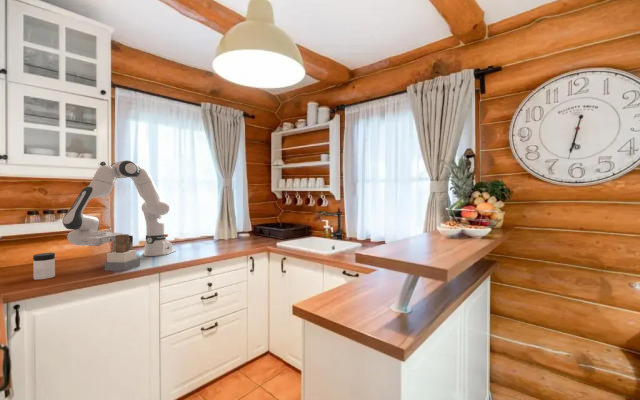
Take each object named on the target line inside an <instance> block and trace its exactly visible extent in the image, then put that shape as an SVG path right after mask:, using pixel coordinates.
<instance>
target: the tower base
mask: <svg viewBox="0 0 640 400" xmlns="http://www.w3.org/2000/svg"><path fill="white" fill-rule="evenodd" d="M137 267H141V257H140V258H139V257H136V259H133V260H130V261H127V262H107V261H105V262H104V271H109V270H110V271H111V272H112V271H114V272H126V271H128V270H132V269H134V268H137Z"/></svg>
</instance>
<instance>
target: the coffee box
mask: <svg viewBox="0 0 640 400" xmlns="http://www.w3.org/2000/svg"><path fill="white" fill-rule="evenodd" d="M133 238H134V236H133V235H129V250H134V248H133V247H134V246H133V245H134V241H133V240H134V239H133ZM114 251H116V241H112V252H114Z"/></svg>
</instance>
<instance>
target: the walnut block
mask: <svg viewBox="0 0 640 400" xmlns="http://www.w3.org/2000/svg"><path fill="white" fill-rule="evenodd" d="M129 236H130V235H129V234H127V233H125V234H124V233H122V234H120V235H116V253H124V252H128V251H129Z"/></svg>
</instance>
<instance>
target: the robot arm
mask: <svg viewBox="0 0 640 400" xmlns="http://www.w3.org/2000/svg"><path fill="white" fill-rule="evenodd" d="M110 166H111V167H110ZM127 178H129V179H131V180H132V181H133V184H134V186H135V189H136V190H137V193H138V195H139V196H140V197H141V198H142V199H143V201H144V202H143V203H142V205H141V211H142V213H143V215H144V220H145V226H146V231H145V233H146V235H145V243H144V250H143V253H142V254H143V256H145V257H157V256H165V255H169V254H172V253H174V252H176V251H177V249H175V248H173V244H172V242H170V241H169V240H167V238H168V237H169V234H168V233H165V223H164V221H163V219H162V216H165V215H167V214H168V213H169V211H170V205H169V203H168V202H166V201H165V199H164V197H162V195H161V194H160V193H159V191H158V189H157V187H156V185H155V183H154V180H153V179H152V176H151V174H150V173H149V171H148V170H147V168H145V167H144V166H139V165H138V164H137V163H136V162H134V161H132V160H121V161H117V162H114V163H112V164H111V165H101V166H99V168H97V170H96V172H95V174H93V177H92V180H91V182H90V183H89V185H87V186H86V187H84V188H82V189H81V191H80V192H79V193H78V196H77V197H76V199H75V200H74V202H73V204H72V205H71V207H70V209H69V210H68V211H67V212H66V214H64V215H63V216H64V217H63V218H62V224H63V226H64V228H65V229H67V230H71V231H70V232H68V233H67V236H66V237H67V238H66V239H67V241H68V242H69V244H71V245H75V246H83V247H84V246H92V247H99V246H102V245H104V244H106V243H110V242H113V241H116V235H120V234H123V232H122V233H121V232H111V231H109V230H108V231H102V230H99V229H100V223H101V222H100V219H99V218H98V217H97V216H93V215H88V214H84V213H83V212H84V211H85V208H86V207H87V205H88V204H89V202H90V200H93V199H94V198H101V197H102V198H104V197H106V196H108V195H109V194H111V192H112V190H113V188H114V185H115V182H116V180H117V179H127Z"/></svg>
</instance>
